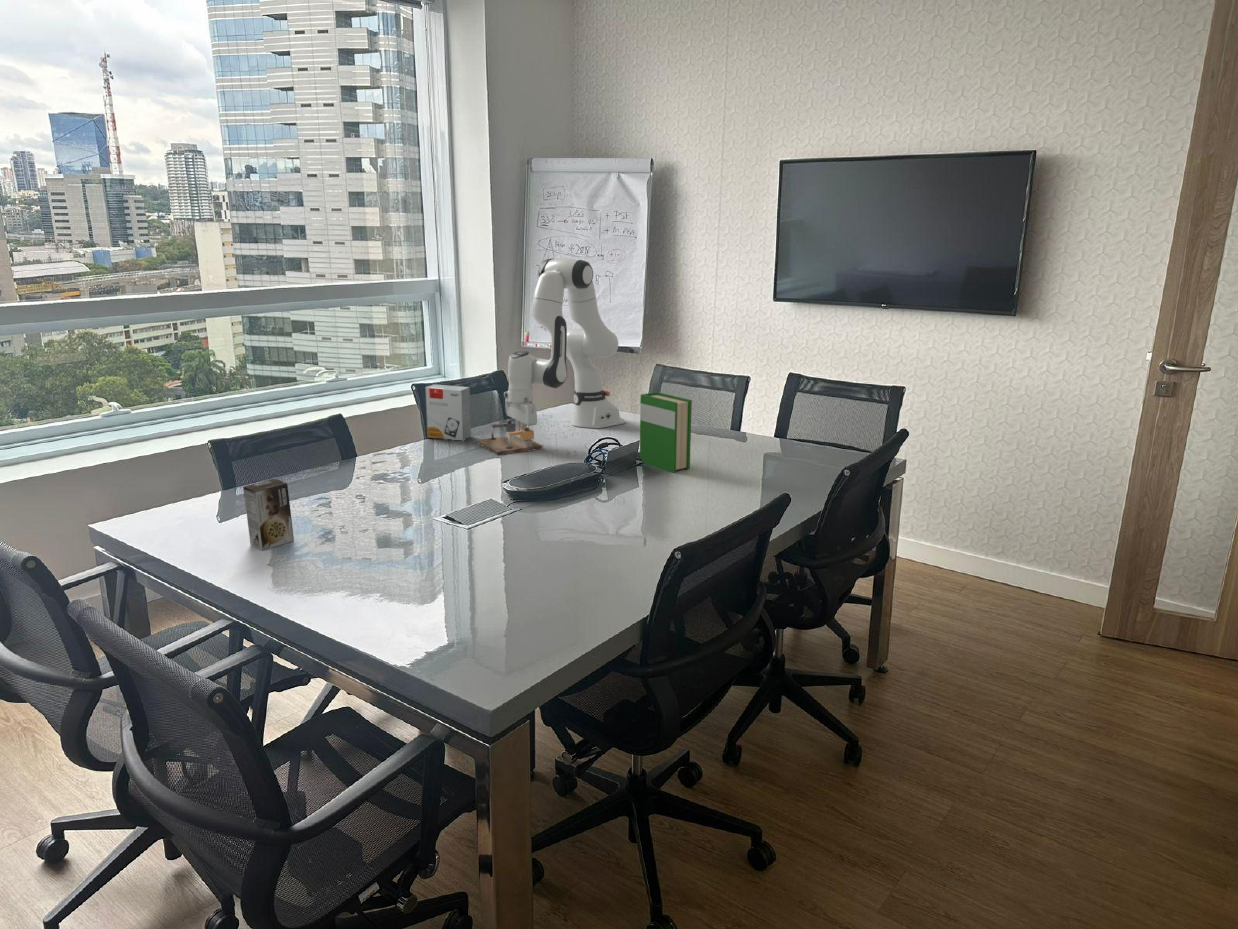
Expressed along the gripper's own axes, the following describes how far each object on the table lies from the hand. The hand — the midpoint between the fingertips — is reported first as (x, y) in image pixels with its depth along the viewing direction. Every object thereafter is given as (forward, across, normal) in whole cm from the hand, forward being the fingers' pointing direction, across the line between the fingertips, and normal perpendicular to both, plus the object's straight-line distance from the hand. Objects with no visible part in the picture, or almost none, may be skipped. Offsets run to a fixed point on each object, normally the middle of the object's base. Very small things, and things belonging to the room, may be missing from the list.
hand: (521, 432), depth 322 cm
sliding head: (+3, -5, +3) cm, 7 cm away
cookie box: (+5, -60, +99) cm, 115 cm away
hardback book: (+5, -49, -31) cm, 58 cm away
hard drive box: (+5, +26, +19) cm, 32 cm away
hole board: (+5, +3, +4) cm, 7 cm away
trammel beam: (+4, +3, +3) cm, 6 cm away
